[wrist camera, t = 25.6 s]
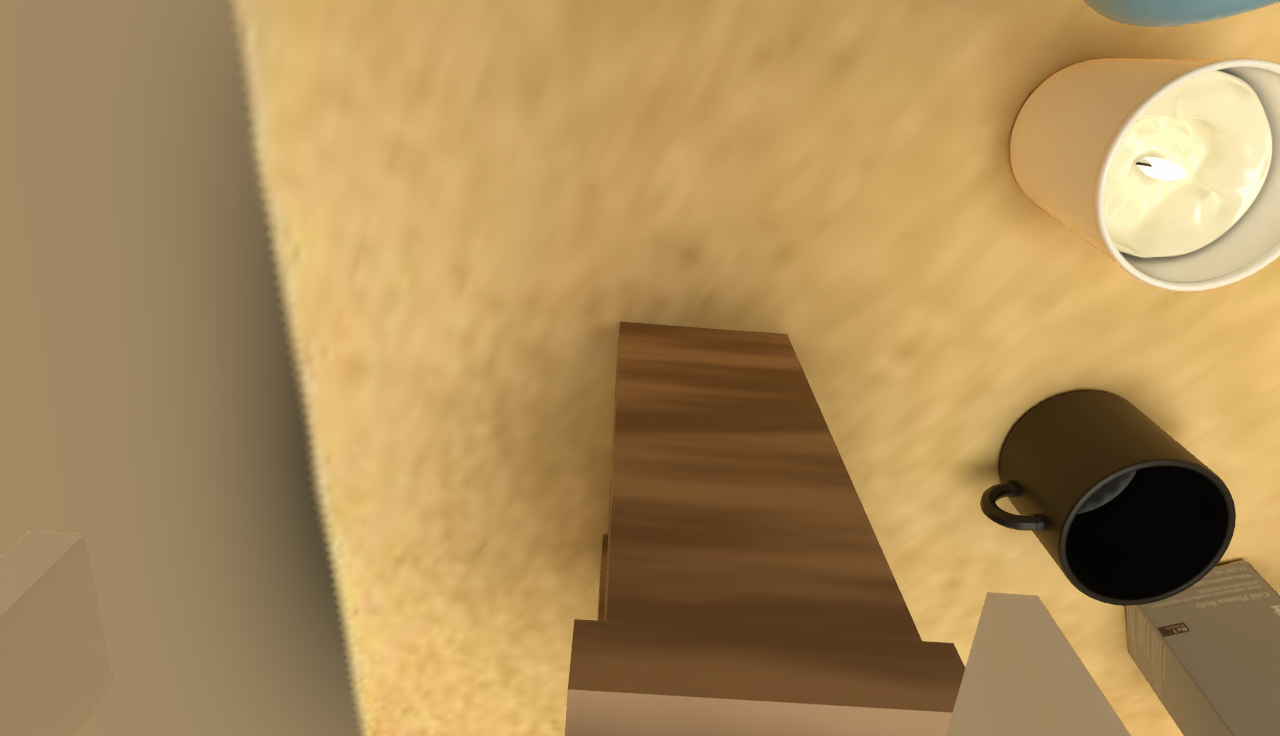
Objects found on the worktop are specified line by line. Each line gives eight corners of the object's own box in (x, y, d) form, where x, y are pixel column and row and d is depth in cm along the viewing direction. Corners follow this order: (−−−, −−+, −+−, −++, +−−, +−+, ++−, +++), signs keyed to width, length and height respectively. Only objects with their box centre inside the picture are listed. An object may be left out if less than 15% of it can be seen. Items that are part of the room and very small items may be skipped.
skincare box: (1243, 555, 59) (1441, 739, 45) (1243, 637, 62) (1430, 836, 47) (1115, 582, 60) (1268, 772, 45) (1120, 662, 63) (1267, 866, 48)
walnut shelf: (603, 320, 52) (567, 692, 25) (803, 336, 53) (989, 717, 25) (585, 571, 59) (542, 1079, 32) (762, 583, 60) (871, 1093, 32)
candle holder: (1069, 260, 51) (1188, 334, 40) (956, 147, 49) (1051, 193, 37) (1212, 128, 48) (1384, 169, 37) (1101, 1, 46) (1249, 4, 35)
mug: (956, 403, 55) (1013, 478, 46) (1153, 378, 54) (1248, 449, 46) (956, 531, 58) (1009, 621, 50) (1141, 509, 58) (1226, 596, 49)
